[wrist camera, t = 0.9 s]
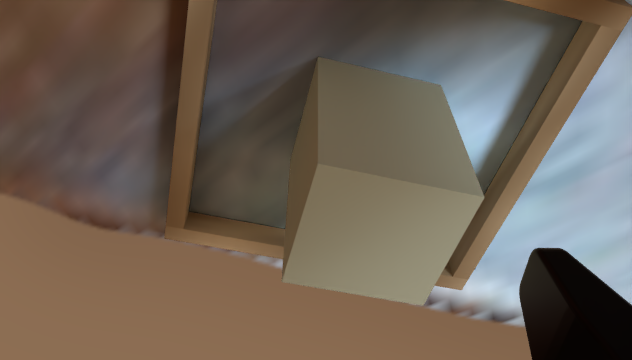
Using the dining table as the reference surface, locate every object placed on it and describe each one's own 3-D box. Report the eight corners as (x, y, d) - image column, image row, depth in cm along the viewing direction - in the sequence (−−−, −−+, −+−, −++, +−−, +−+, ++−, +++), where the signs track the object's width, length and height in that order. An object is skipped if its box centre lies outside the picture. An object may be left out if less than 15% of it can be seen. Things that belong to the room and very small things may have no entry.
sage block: (440, 84, 21) (484, 197, 16) (398, 182, 24) (423, 305, 19) (318, 56, 20) (318, 163, 15) (290, 160, 23) (281, 282, 18)
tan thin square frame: (619, -4, 19) (635, 8, 18) (456, 272, 28) (461, 290, 27) (206, -116, 17) (200, -109, 16) (170, 220, 25) (164, 238, 25)
